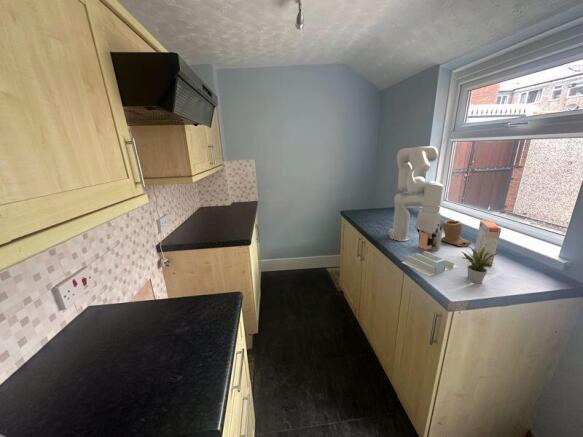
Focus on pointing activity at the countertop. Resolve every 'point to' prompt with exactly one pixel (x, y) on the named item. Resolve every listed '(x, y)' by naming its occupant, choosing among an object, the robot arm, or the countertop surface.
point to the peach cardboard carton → (424, 240)
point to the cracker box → (487, 239)
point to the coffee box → (437, 241)
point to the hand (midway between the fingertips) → (425, 243)
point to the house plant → (478, 265)
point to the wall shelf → (429, 263)
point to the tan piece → (454, 233)
